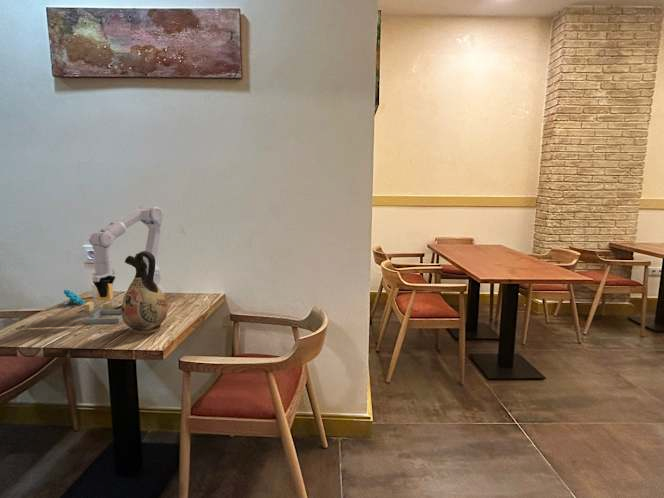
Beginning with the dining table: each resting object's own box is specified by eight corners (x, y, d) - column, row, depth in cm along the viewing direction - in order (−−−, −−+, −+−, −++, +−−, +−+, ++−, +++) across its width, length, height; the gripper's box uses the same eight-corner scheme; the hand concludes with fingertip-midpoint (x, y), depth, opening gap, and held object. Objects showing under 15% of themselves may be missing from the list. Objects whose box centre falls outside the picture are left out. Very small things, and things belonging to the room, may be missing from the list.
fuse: (113, 298, 162) (112, 282, 161) (109, 300, 159) (108, 284, 158) (101, 298, 161) (100, 282, 161) (97, 300, 158) (96, 284, 158)
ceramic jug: (112, 334, 144) (106, 251, 140) (146, 321, 158) (142, 246, 154) (149, 341, 138) (143, 254, 134) (181, 327, 152) (177, 248, 148)
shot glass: (88, 298, 191) (87, 284, 190) (98, 294, 198) (97, 280, 197) (101, 299, 190) (100, 284, 189) (111, 295, 196) (110, 281, 195)
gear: (83, 304, 175) (63, 289, 173) (72, 315, 174) (52, 300, 171) (88, 301, 186) (70, 287, 183) (78, 311, 184) (59, 297, 182)
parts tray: (130, 315, 166) (130, 309, 166) (119, 324, 154) (118, 318, 154) (100, 315, 165) (99, 310, 164) (85, 325, 153) (85, 319, 153)
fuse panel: (118, 307, 176) (117, 299, 175) (108, 314, 166) (108, 306, 166) (89, 308, 175) (88, 300, 174) (77, 315, 165) (77, 306, 164)
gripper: (100, 259, 165) (103, 291, 167) (82, 265, 150) (85, 300, 152) (118, 258, 166) (121, 291, 167) (102, 265, 151) (105, 300, 153)
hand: (105, 295), depth 160 cm, fingers closed on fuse, 3 cm apart
